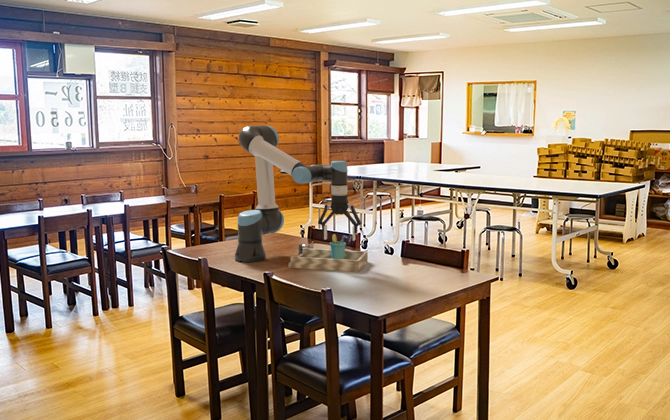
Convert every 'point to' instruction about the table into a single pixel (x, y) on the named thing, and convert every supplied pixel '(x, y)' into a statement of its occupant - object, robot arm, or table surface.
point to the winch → (304, 247)
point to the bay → (329, 260)
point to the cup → (338, 247)
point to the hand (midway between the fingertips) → (339, 239)
